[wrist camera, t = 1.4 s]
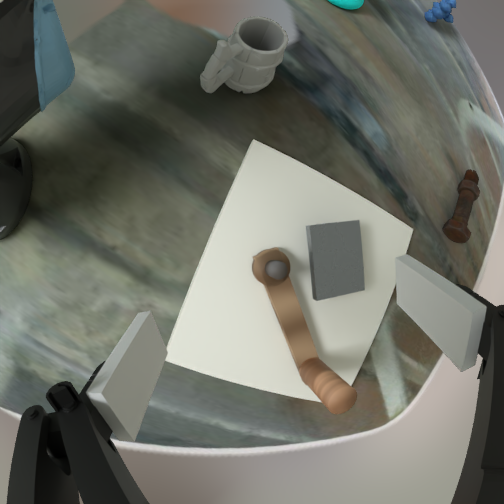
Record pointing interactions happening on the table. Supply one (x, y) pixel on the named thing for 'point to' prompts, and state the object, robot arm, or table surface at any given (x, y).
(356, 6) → the donuts
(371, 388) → the table surface
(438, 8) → the blue knobby flower
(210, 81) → the mug
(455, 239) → the bolt
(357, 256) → the block
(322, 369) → the link
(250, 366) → the base plate
